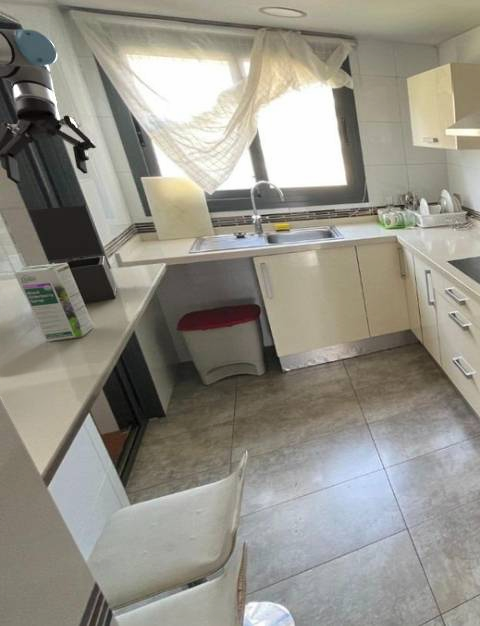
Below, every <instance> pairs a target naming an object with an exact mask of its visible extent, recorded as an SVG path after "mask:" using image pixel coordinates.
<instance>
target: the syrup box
mask: <svg viewBox="0 0 480 626" xmlns="http://www.w3.org/2000/svg"><path fill="white" fill-rule="evenodd" d="M14 276H15V277H16V280H17V283H18V285H19V286H20V288H21V290H22V293H23V294H24V297H25V299H26V301H27V303H28V305H29V307H30V309H31V311H32V314H33V316H34V318H35V320H36V322H37V324H38V327H39V329H40V331H41V334H42V336H43V338H44V340H45V342H46V343H50V342H56V341H63V340H70V339H78V338H83V337H84V336H86V335H87V334H88V333H89V332H90V331H92V330H93V329H94V323H93V321H92V319H91V316H90V314H89V312H88V309H87V307H86V305H85V304H84V302H83V299H82V297H81V295H80V292H79V290H78V287H77V285H76V283H75V280H74V278H73V275H72V273H71V271H70V268H69V266H68V264H67V263H61V264H50V265H49V264H40V265H30V266H25V267H23V268H20V269H18V270H17V271H15V272H14Z"/></svg>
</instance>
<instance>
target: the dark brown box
mask: <svg viewBox="0 0 480 626" xmlns="http://www.w3.org/2000/svg"><path fill="white" fill-rule="evenodd" d="M61 263H67V264H68V266H69V268H70V271H71V273H72V275H73V278H74V280H75V283H76V285H77V287H78V290H79V292H80V295H81V297H82V299H83V302H84V304H90V303H91V302H92V303H96V302H95V301H98V302H102V301H101V300H103V301H108V299H109V300H115V299H116V298H117V284H116V282H115V279H114V277H113V274H112V272H111V269H110V267H109V264H108V261H107V259H106V256H105V255H100V256H99V255H98V256H93V257H83V258H76V259H68V260H62V261H61V260H60V261H56V262H55V261H54V262H49V263H48V265H50V264H61ZM92 303H91V304H92Z"/></svg>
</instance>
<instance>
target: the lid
mask: <svg viewBox="0 0 480 626" xmlns="http://www.w3.org/2000/svg"><path fill="white" fill-rule="evenodd" d="M27 211H28V213H29V216H30V219H31V221H32V223H33V226H34V229H35V231H36V234H37V236H38V239H39V241H40V244H41V247H42V249H43V252H44V254H45V257H46V259H47V262H52V261H54V262H55V261H61V260H70V259H78V258H86V257H91V256H99V255H100V256H101V255H104V254H105V253H104V251H103V248H102V245H101V243H100V240H99V237H98V234H97V231H96V229H95V226H94V224H93V220H92V217H91V216H90V215H91V214H90V213H89V209H88V207H87V205H74V206H73V205H72V206H61V207H60V206H59V207H47V208H35V209H28V210H27Z"/></svg>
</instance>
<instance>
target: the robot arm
mask: <svg viewBox="0 0 480 626" xmlns="http://www.w3.org/2000/svg"><path fill="white" fill-rule="evenodd" d="M57 59H58V51H57V49H56V46H55V45H54V43H53V42H52V41H51V39H50V38H49V37H48V36H46V35H45V34H43V33H42V32H40V31H38V30H34V29H25V28H17V29H7V28H0V78H1V79H3V80H5V81H7V82H9V83H10V85H11V89H12V94H13V103H14V109H15V115H16V118H17V123H15V124H13V123H12V124H9V123H8V122H7V121H4V122H2V123H1V125H0V127H1V128H0V166H1V168H2V169H3V170H5V172H6V177H7V178H8V179H9V180H10V181H12V182H14V183H15V184H16V185H17V184H21V179H20V172H19V166H18V161H17V160H16V159H15V158H16V157H17V156H18V155H19V154H20V153H21V152H22V151H23V150H24V149H25V148H26V147H27V146H28V145H29V144H32V143H34V141H35V140H43V139H53V137H57V138H59V139H60V140H63V141H65V142H66V143H68V144H70V145H72V150H73V156H74V160H75V167H76V169H78V170H79V171H80V172H81V173H82V174H84V175H85V174H88V168H87V163H86V161H89V159H90V156H89V150H90V149H96V148H97V145H96V144H95V143H94V142H93V141H92V140H91V139H90V138H89V137H88V136H87V135H86V134H84V132H82V131H81V130H80V129H79V128H78V125H77V123H76V121H74V119H72V117H71V116H69V115H64V116H63V118H61V119H60V115H59V111H58V106H57V100H56V94H55V89H54V82H53V74H52V72H51V70H50V67H49V65H52V64H54V63H55V62H56V61H57ZM63 126H65V127H66V128H68V129H71V130H72V131H73V132H74V133H75V134H76V135H77V136H78V138H80V139H81V140H82V141H81V140H77V139H76V138H74V137H73V136H71V135H69V134H67V133H66V132H64V131H62V130H61V129H62V127H63Z"/></svg>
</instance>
